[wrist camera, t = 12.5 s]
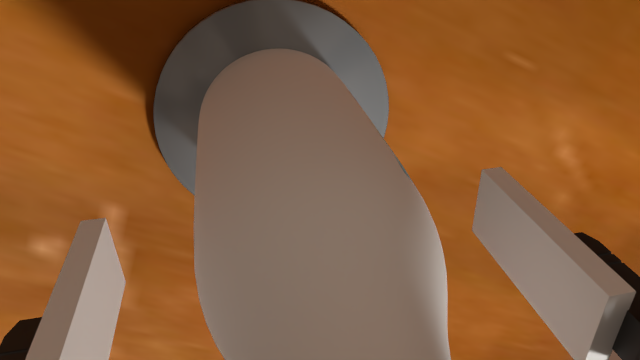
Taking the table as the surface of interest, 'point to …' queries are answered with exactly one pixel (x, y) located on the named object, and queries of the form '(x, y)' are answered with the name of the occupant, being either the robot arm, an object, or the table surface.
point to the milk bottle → (309, 223)
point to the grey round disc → (247, 37)
